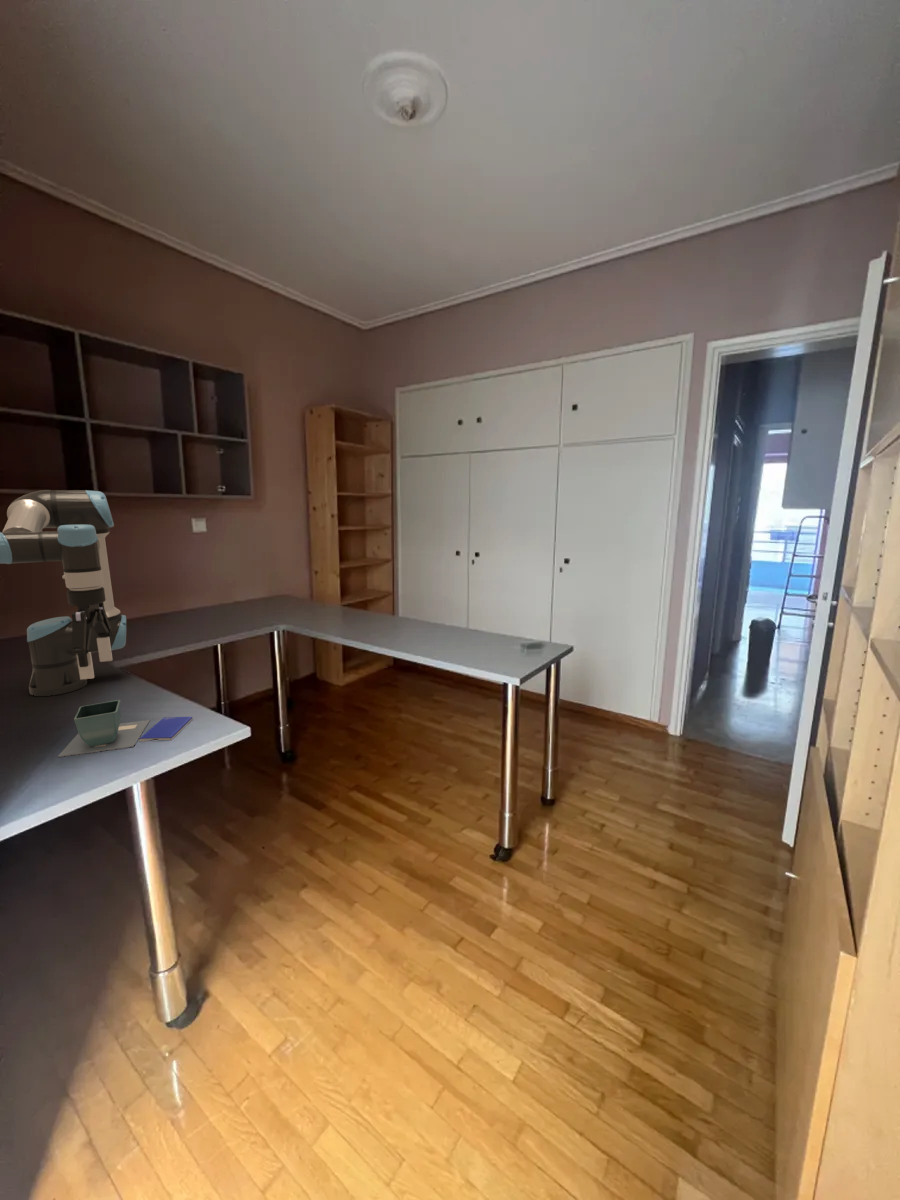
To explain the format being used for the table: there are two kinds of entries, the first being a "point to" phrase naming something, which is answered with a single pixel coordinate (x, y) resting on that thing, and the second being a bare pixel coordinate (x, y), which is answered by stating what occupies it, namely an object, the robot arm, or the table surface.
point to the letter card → (124, 739)
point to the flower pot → (98, 722)
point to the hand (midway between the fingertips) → (97, 669)
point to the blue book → (166, 728)
